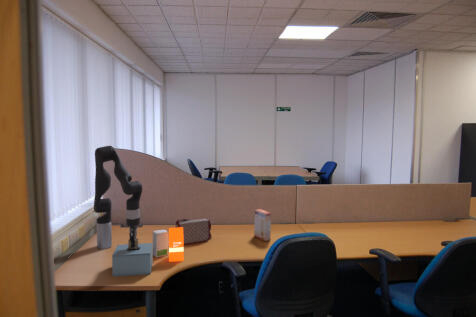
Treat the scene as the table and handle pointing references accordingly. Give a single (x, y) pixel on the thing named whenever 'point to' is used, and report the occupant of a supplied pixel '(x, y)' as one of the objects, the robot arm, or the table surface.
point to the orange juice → (176, 244)
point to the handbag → (195, 230)
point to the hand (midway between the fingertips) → (133, 246)
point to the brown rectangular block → (135, 244)
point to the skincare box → (160, 243)
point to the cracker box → (262, 224)
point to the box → (132, 260)
